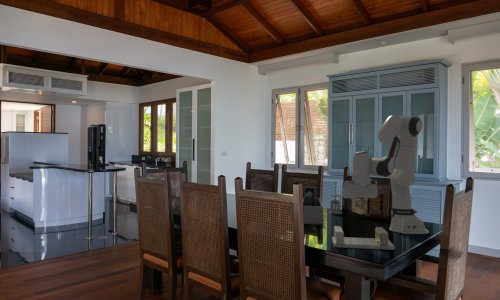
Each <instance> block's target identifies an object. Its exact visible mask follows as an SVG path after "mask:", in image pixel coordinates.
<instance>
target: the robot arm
mask: <svg viewBox="0 0 500 300" xmlns="http://www.w3.org/2000/svg"><path fill="white" fill-rule="evenodd" d="M422 128H423V122H422V120H421V119H420V118H419V117H417V116H409V115H408V116H405V115H404V116H402V115H401V116H400V115H398V114H391V115H390V116H388V117H387V118H386V119H385V120H384V121H383V123H382V125H381V126H380V128H379V130H378V131H377V132H378V133H377V139H378V141H379V142H380V143H381V145H382V144H383V146H386V147H387V148H388V149H387V151H386V154H385V156H383V157H374V156H371V155H370V153H369V152H368V151H366V150H362V151H361V150H359V151H356V152H354V155H353V158H352V175H351V180H345V181H344V182H343V183H342V184H343V185H342V186H343V187H342V193H341V195H342V198H345V199H351V203H352V202H353V206H357V203H356V202H355V200H356V199H363V200H365V201H368V198H369V199H371V198H376V197H377V194H379V193H378V186H377V184H378V181H377V180H375V179H373V178H370V175H372V176H378V177H379V176H380V177H384V178H387V177H389V179H390V180H389V181H390V188H391V195H392V197H391V199H392V204H391V205H392V206H391V210H390V212H391V213H390V215H391V221H390V225H389V231H391V232H393V233H401V234H405V235H423V234H425V235H427V234H428V235H429V233H430V231H429V230H428V229H427V228H426V226H425V223H424V221H423V220H421V219H420V217H418V216H417V215H415V214H418V211H417V210H416V209H414V208H412V194H411V189H410V187H411V186H413V185H414V184H415V182H416V175H415V156H416V150H417V148H416V147H417V136H418V134H420V132H421V131H422Z"/></svg>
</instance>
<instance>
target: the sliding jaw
mask: <svg viewBox="0 0 500 300" xmlns="http://www.w3.org/2000/svg"><path fill="white" fill-rule="evenodd" d="M374 238H376V239H377V241H378V242H379V243H380V244H381V245H388V240H389V233H388V231H387V230H386V229H384V228H383V226H381V227H380V226H376V227H375V229H374Z"/></svg>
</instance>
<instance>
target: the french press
mask: <svg viewBox="0 0 500 300" xmlns="http://www.w3.org/2000/svg"><path fill="white" fill-rule="evenodd" d="M337 182H338V181H334V182H333V183H335V184H334V185H335V190H334V191H335V193H331V194H330V195H329V196H330V197H335V199H331V200H330V210H329V212H328V213H329V214H332V213H334V215H340V214H342V212H341V208H342V207H343V206H344V204H345V200H344V199H342V197H341V195H342V194H339V193H337V191H336V186H337ZM336 197H337V198H338V197H339V198H338V200H337V199H336ZM341 200H342V201H341ZM341 203H342V204H341Z"/></svg>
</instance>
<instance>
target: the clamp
mask: <svg viewBox="0 0 500 300" xmlns="http://www.w3.org/2000/svg"><path fill="white" fill-rule="evenodd" d="M303 189H304V193H303V194H304V195H303V196H304V197H303V198H304V206H316V198H317V187H316V186H315V187H314V186H304V188H303Z"/></svg>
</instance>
